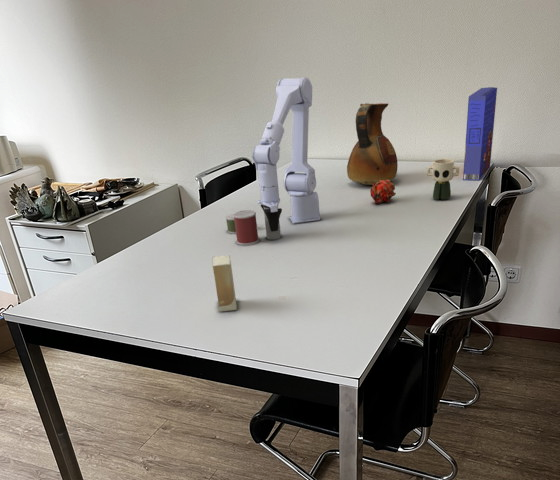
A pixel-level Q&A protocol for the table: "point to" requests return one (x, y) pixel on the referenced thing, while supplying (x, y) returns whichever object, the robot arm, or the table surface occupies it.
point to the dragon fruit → (382, 191)
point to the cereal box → (479, 133)
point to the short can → (231, 223)
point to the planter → (270, 234)
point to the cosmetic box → (224, 283)
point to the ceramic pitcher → (371, 148)
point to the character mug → (442, 177)
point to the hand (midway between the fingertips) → (273, 228)
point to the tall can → (246, 227)
